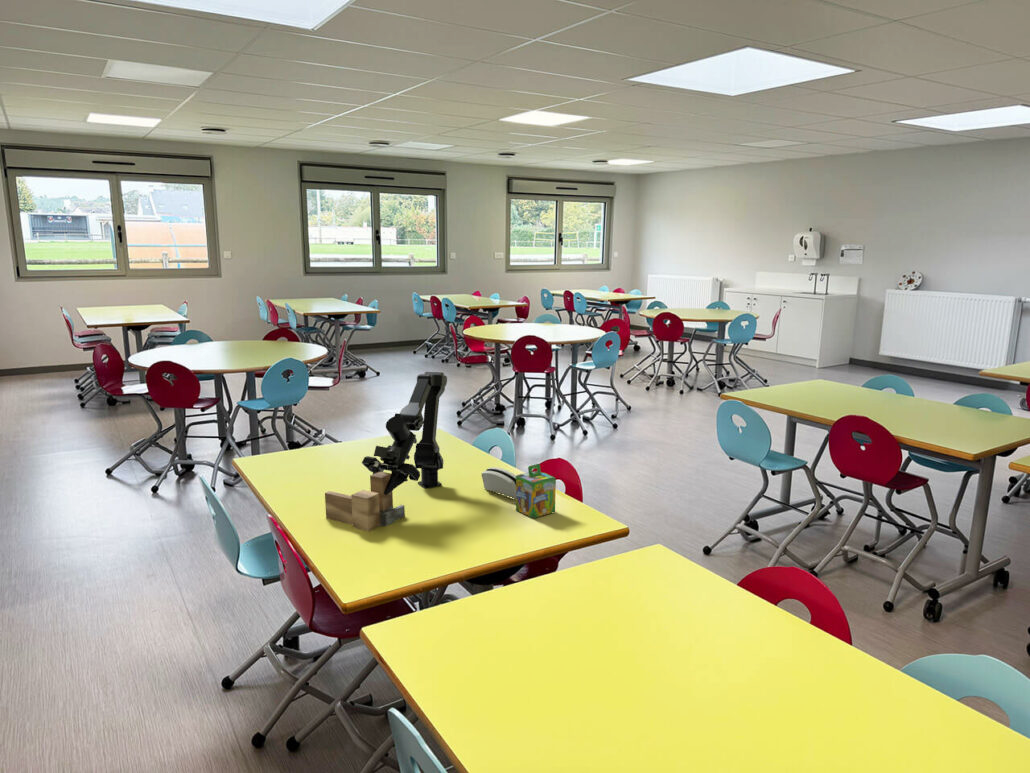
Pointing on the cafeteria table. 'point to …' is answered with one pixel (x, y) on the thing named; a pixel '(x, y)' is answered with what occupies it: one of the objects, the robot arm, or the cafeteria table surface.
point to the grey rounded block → (500, 481)
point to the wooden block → (382, 490)
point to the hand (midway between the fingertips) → (378, 493)
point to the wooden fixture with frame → (360, 510)
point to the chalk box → (535, 492)
